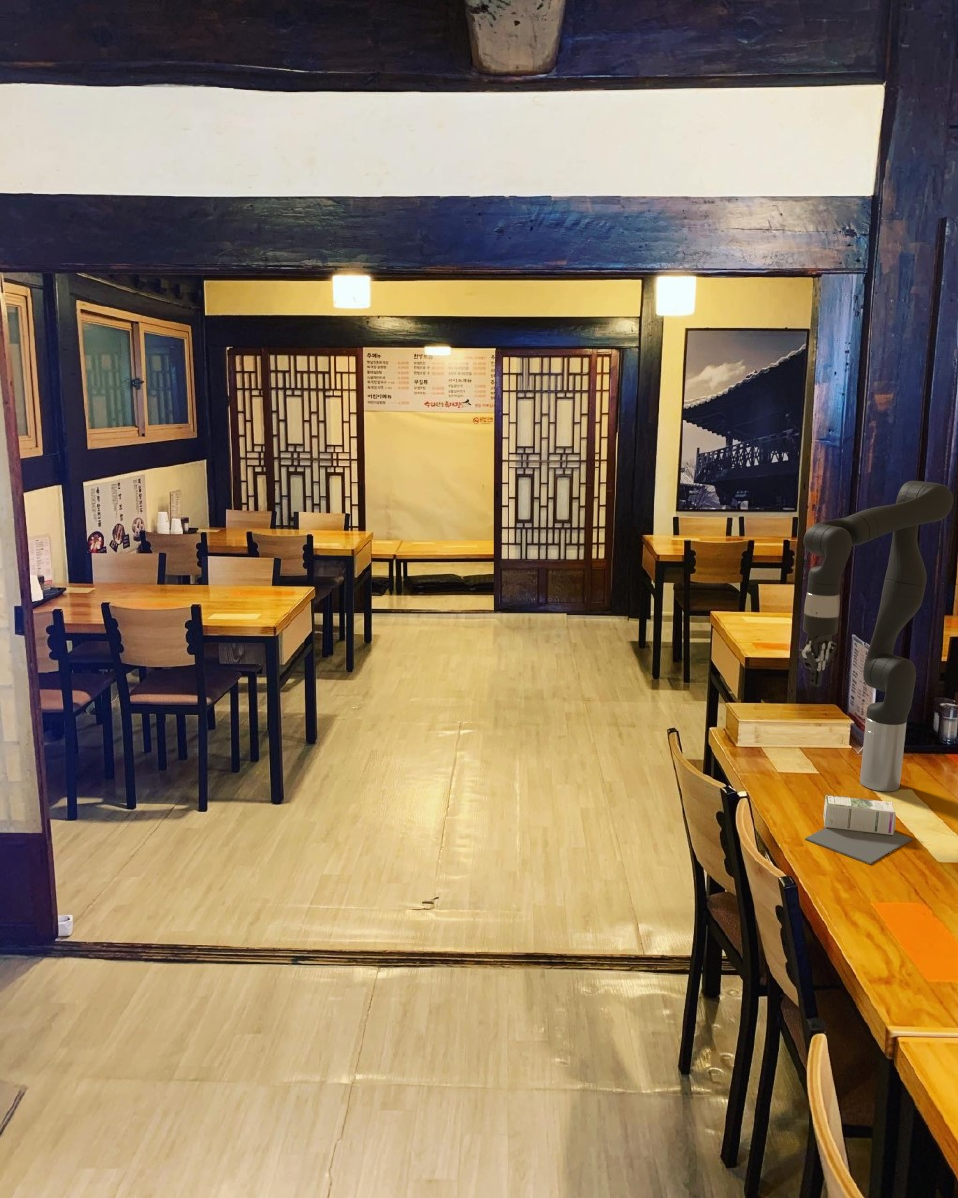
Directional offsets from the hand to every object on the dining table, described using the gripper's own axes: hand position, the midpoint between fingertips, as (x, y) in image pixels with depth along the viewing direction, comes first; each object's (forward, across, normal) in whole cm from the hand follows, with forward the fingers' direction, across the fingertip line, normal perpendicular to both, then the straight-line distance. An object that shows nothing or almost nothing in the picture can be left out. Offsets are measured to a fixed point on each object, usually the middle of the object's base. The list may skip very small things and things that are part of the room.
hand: (815, 685), depth 230 cm
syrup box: (+26, -8, -9) cm, 28 cm away
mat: (+29, -9, -18) cm, 36 cm away
